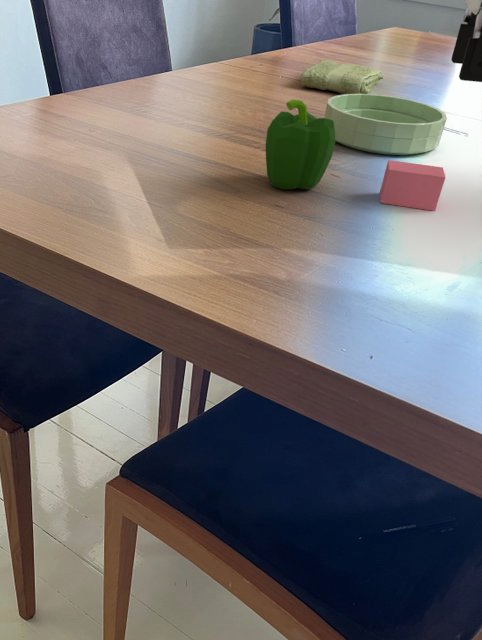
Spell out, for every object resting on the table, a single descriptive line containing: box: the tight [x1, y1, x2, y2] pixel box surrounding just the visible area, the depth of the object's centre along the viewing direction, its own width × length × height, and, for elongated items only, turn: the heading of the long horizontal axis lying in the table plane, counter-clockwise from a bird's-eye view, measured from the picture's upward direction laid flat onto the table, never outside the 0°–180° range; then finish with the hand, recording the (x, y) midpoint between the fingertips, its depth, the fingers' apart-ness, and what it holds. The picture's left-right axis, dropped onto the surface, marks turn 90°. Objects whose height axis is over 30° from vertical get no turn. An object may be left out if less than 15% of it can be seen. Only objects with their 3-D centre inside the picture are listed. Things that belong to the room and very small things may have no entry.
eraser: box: [379, 159, 446, 212], centre depth 88 cm, size 6×4×4 cm, turn 76°
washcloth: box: [300, 59, 384, 95], centre depth 138 cm, size 13×18×3 cm
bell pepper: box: [264, 99, 337, 190], centre depth 88 cm, size 8×8×10 cm
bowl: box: [323, 93, 448, 156], centre depth 109 cm, size 17×17×4 cm
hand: (468, 71), depth 83 cm, fingers open, 9 cm apart
